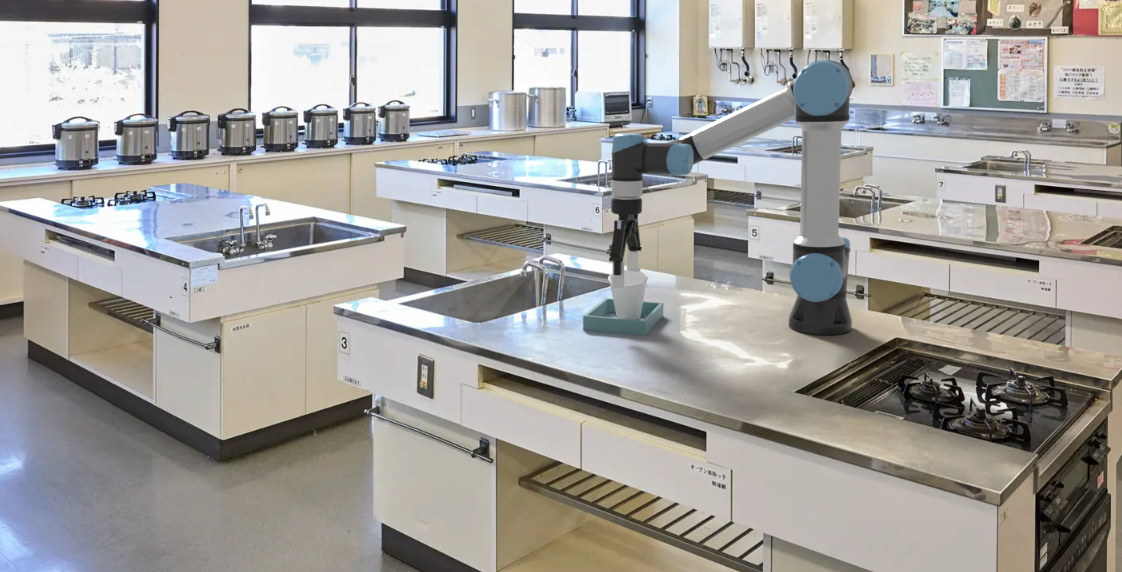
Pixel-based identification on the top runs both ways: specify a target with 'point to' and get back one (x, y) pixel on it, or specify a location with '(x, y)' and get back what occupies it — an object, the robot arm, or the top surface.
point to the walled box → (619, 325)
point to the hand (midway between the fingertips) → (625, 282)
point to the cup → (629, 295)
